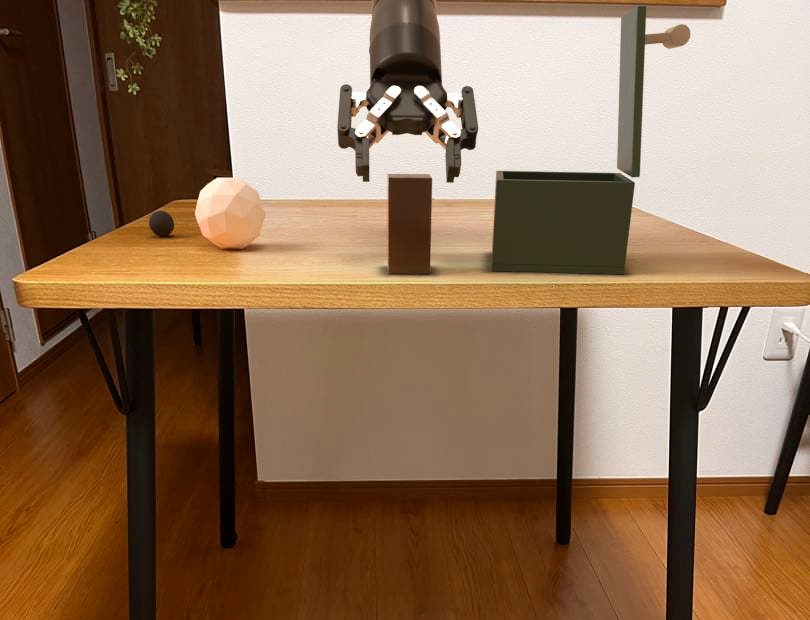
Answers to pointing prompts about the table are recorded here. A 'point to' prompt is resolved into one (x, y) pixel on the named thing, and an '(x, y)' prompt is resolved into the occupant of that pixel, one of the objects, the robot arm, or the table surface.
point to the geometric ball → (230, 213)
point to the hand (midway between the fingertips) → (408, 176)
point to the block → (409, 223)
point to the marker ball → (161, 223)
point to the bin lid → (637, 82)
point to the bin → (561, 222)
